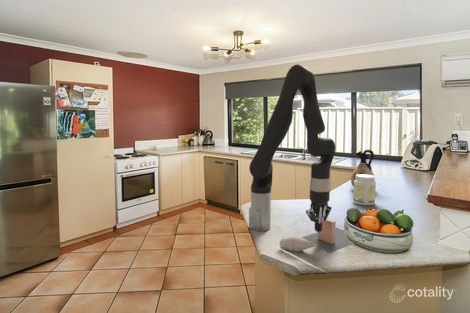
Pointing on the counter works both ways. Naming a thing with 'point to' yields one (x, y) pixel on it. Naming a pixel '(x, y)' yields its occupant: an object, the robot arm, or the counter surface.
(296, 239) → the ice cream cone
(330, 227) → the tile
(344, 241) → the mat
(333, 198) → the counter surface
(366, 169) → the ceramic jug
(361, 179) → the supplement tub
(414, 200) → the counter surface
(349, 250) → the counter surface
